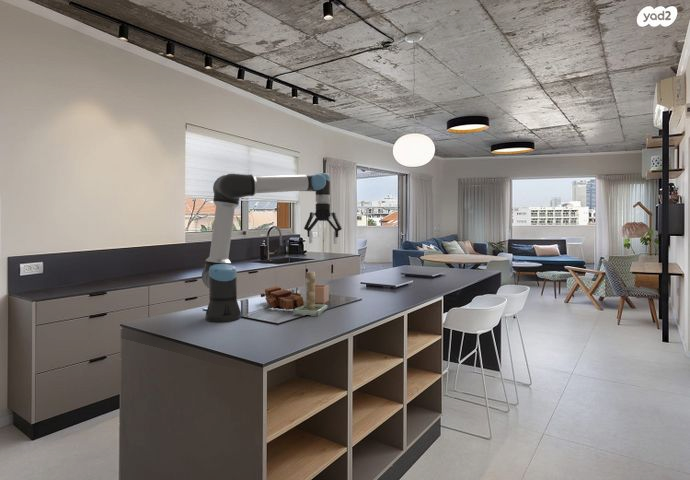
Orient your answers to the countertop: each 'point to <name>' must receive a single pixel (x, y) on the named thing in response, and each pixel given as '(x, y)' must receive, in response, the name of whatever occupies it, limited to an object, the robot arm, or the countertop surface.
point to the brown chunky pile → (282, 298)
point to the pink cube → (321, 293)
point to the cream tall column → (310, 291)
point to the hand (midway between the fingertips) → (322, 243)
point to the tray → (309, 312)
